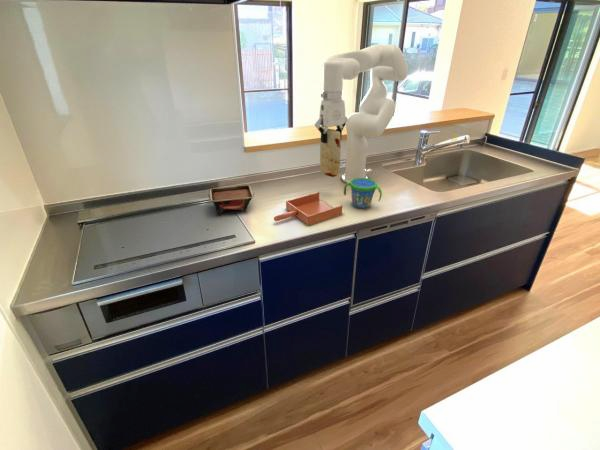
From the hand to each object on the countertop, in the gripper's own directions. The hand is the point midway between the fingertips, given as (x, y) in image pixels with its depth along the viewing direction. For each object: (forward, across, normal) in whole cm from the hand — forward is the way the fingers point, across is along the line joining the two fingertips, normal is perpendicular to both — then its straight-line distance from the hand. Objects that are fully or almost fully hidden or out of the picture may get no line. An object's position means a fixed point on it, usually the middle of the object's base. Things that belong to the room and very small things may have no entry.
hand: (331, 140), depth 142 cm
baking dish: (+24, -41, +12) cm, 49 cm away
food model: (+15, 0, 0) cm, 15 cm away
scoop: (+24, -21, -10) cm, 33 cm away
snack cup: (+25, +5, -16) cm, 30 cm away
